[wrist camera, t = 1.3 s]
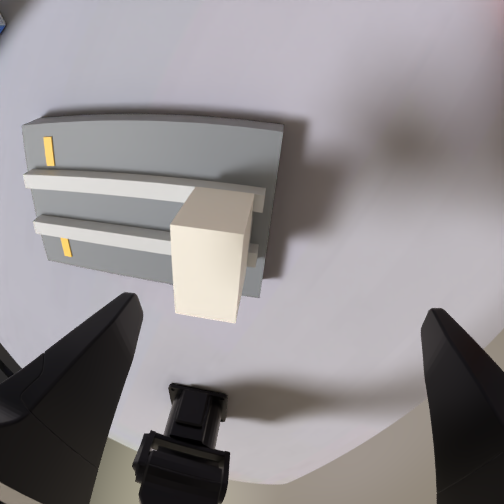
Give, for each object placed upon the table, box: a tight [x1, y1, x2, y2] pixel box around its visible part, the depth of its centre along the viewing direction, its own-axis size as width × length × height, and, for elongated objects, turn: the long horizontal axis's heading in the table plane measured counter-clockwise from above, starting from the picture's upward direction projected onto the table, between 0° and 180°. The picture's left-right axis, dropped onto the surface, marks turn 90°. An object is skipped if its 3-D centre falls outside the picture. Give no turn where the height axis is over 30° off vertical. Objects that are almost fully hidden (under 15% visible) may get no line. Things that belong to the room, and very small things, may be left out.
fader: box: [170, 187, 254, 323], centre depth 16 cm, size 5×3×5 cm, turn 175°
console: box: [22, 114, 284, 298], centre depth 19 cm, size 11×17×3 cm, turn 85°
